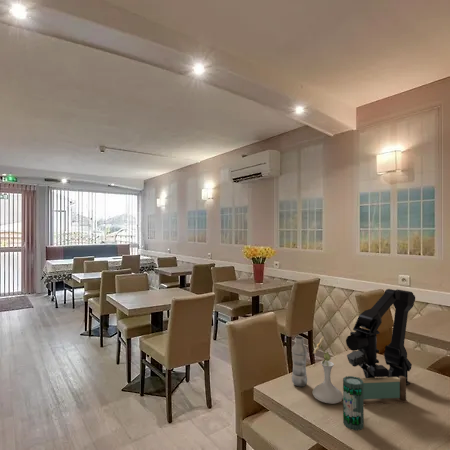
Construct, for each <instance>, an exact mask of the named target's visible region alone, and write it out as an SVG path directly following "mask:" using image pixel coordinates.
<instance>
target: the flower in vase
mask: <svg viewBox="0 0 450 450" xmlns="http://www.w3.org/2000/svg"><path fill="white" fill-rule="evenodd" d="M324 340H325V336H323V335H322V337H321V338H320V339H319V343H317V344H316V347H315V348H314V350H313V352H312V354H314V355H316V354H317V353H318V352H319V350H320V349H322V351H323V353H324V354H323V357H324V359H323V360H322V361H320V364H321V366H322V368H323V372H324V374H323V375H324V378H323V381H322V382H321V383H319V384H318V385H316V386H315V387H313V389H312V392H311V393H312V396H313V397H314V398H315V399H316V400H318V401H320V402H322V403H324V404H325V403H326V404H339V403H340V402H341V401H342V400H343V392H342V391H341V390H340V389H339V388H338V387H336V386H335V385H334V384H333V383H332V380H331V373H332V369H333V367H334V366H335V364H334V362H332V361H330V360H331V355H330V353H329V352H328V351H325V350H324V347H323V343H324Z"/></svg>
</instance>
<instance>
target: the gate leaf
mask: <svg viewBox="0 0 450 450" xmlns="http://www.w3.org/2000/svg"><path fill="white" fill-rule="evenodd" d="M360 378H361V379H362V380H363V399H382V398H400V379H399V378H398V377H375V378H365V377H360Z"/></svg>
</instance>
